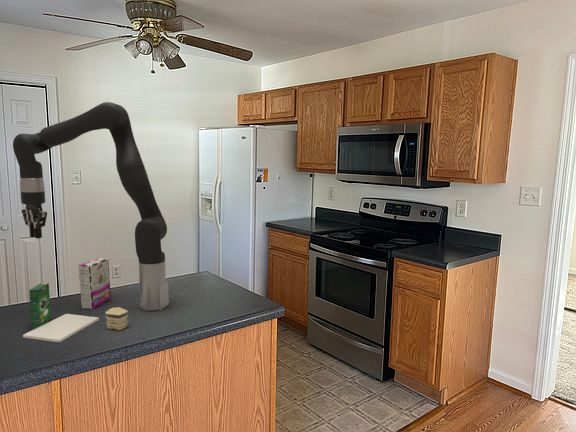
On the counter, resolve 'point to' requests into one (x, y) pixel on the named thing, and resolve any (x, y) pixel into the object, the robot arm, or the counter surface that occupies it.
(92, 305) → the candy bar box
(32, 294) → the coffee box
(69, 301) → the counter surface
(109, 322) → the layered sandwich
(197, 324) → the counter surface
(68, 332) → the cutting board
